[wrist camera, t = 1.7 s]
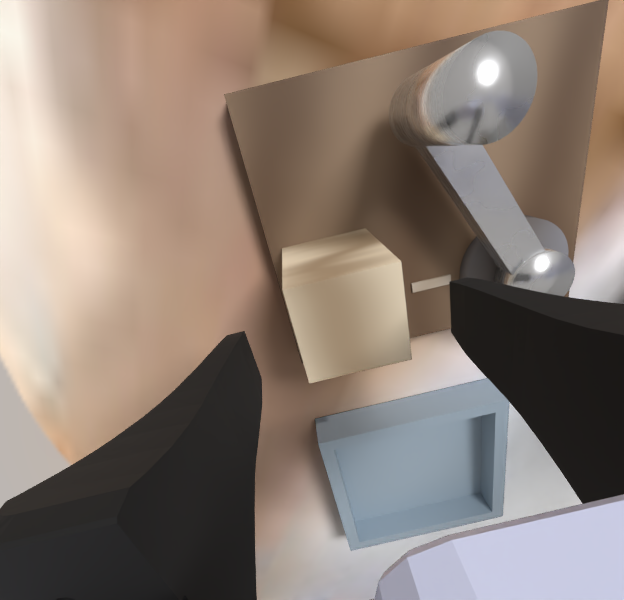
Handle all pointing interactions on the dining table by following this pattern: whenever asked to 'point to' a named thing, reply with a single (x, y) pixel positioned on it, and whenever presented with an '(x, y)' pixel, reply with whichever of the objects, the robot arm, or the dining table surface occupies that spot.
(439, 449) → the tray
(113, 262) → the dining table surface
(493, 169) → the crank lever
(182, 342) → the dining table surface
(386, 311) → the block
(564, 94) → the board
